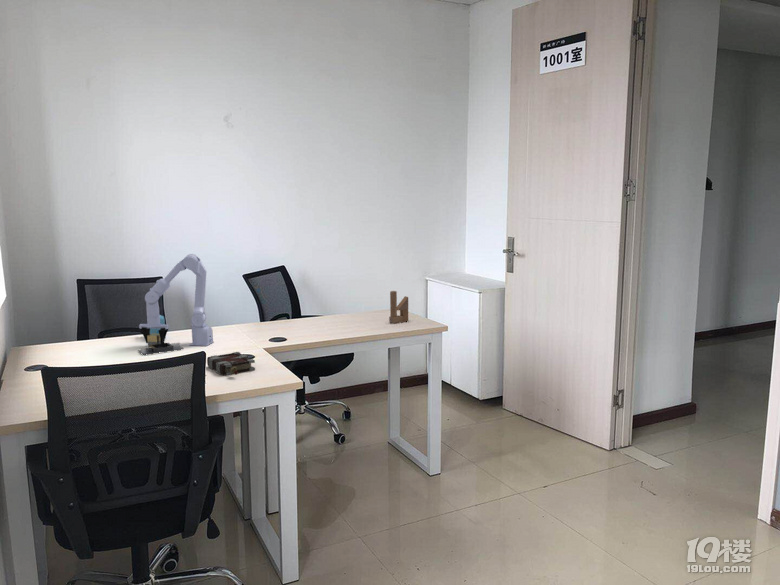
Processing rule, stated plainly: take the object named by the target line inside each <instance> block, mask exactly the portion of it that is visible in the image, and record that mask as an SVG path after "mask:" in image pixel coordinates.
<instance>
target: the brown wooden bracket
mask: <svg viewBox="0 0 780 585" xmlns="http://www.w3.org/2000/svg"><path fill="white" fill-rule="evenodd" d="M389 292H390V293H389V298H390V300H389V301H390V304H389V306H390V309H389V310H390V316H389V318H388V320H389V322H390V324H392V323H394V324H400V323H399V322H401V323H407V322H406V321H408V322H409V296H404V297H403V298H401V301H400V302H399V303H398V302H397V299H398V297H397V296H398V295H397V293H398V291H396V290H391V291H389ZM398 311H399V315H398Z"/></svg>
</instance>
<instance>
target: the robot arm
mask: <svg viewBox="0 0 780 585" xmlns="http://www.w3.org/2000/svg"><path fill="white" fill-rule="evenodd" d="M187 269H188V270H190V271H191V272H192V273H193V274H194V275H196V276H195V290H194V304H193V305H194V307H193V313H192V314H193V315H192V317H191V319H190V323H191V326H190V327H191V339H192V340H191V343H189V344H188V346H197V347H201V346H203V347H207V346H209V345H212V344H213V343H215V342H214V334H213V328H212V326H208V325H207V323H206V320H207V315H206V312H205V303H206V285H207V269H206V268H205V266H204V264H203V262H202V260H201V259H200V258H199V257H198V256H197V255H196V254H193V253H189V254H187V255H186V256H185V257H184V258H183V259H181V260H180V261H179V262H177V264H175V266H174V267H172V269H171V271H170V272H168V274H167V275H166V276H165V277H164V278H160V279H157V280H156V282H155V284H154V285H153V286H152V287H150V288H149V291H147V292H146V294H145V296H144V301H145V303H146V304H145V305H146V307H145V308H146V319H147V320H146V322H147V323H140V324H139V325H138V327H139V329H140V331H139V332H140V333H141V334H142V336H143V337H144V340H145V344H148V340H147V335H150V328H151V329H160V330H158V331H159V334H160V342H161V343H165V339H166V338H165V336H166V337H167V333H168V331H169V329H170V324H166V323H165V324H160V315H161V314H160V306H159V299H160V297H162V296H163V295H164V294H165V293H166V291H167V290H169V288H170V287H171V285H170V284H171V282H172V281H173V279H175V277H176V276H178V275H179V273H180V272H182V271H185V270H187Z"/></svg>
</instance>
